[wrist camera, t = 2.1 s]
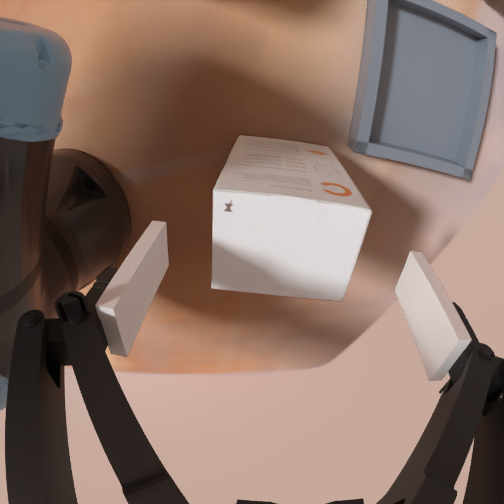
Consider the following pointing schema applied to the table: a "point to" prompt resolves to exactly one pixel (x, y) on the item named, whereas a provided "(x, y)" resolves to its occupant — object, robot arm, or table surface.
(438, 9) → the tray
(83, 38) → the table surface
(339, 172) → the small box
